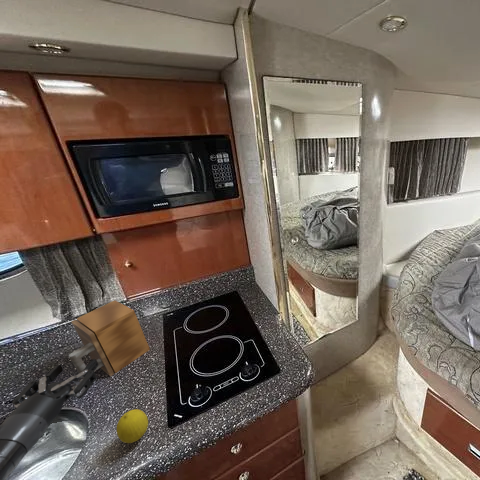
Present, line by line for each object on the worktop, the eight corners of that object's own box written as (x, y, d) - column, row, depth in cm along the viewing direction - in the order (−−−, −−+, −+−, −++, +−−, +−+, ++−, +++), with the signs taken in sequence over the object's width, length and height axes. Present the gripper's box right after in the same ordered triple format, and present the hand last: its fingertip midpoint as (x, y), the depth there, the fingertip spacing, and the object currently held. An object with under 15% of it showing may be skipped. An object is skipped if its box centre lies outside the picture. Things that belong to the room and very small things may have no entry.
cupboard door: (90, 390, 69) (65, 347, 63) (72, 373, 75) (48, 332, 69) (114, 373, 74) (93, 332, 68) (96, 358, 79) (75, 319, 73)
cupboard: (115, 373, 74) (94, 331, 68) (97, 358, 80) (76, 318, 74) (150, 349, 82) (134, 310, 76) (131, 337, 88) (114, 300, 81)
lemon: (150, 419, 61) (139, 397, 58) (154, 437, 57) (143, 414, 54) (122, 436, 58) (109, 414, 55) (125, 457, 54) (112, 434, 51)
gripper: (55, 407, 53) (101, 349, 68) (-25, 423, 51) (41, 358, 65) (70, 430, 56) (112, 369, 71) (-5, 445, 54) (54, 378, 68)
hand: (78, 364), depth 68 cm, fingers open, 8 cm apart
